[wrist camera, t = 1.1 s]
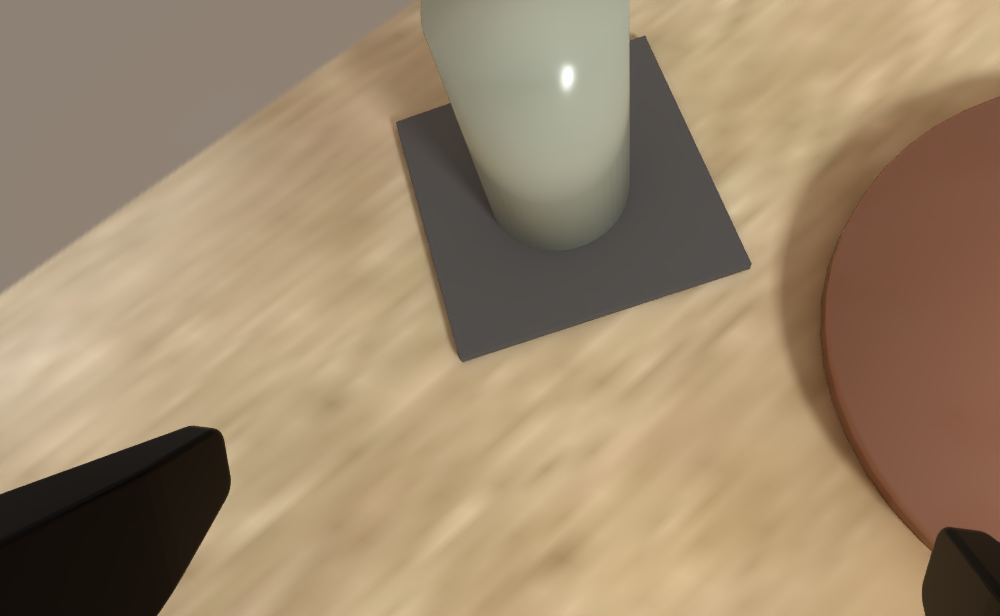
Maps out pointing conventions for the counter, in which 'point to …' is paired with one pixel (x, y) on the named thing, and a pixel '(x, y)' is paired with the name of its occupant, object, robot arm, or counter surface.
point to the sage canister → (540, 109)
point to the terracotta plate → (924, 328)
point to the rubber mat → (580, 271)
